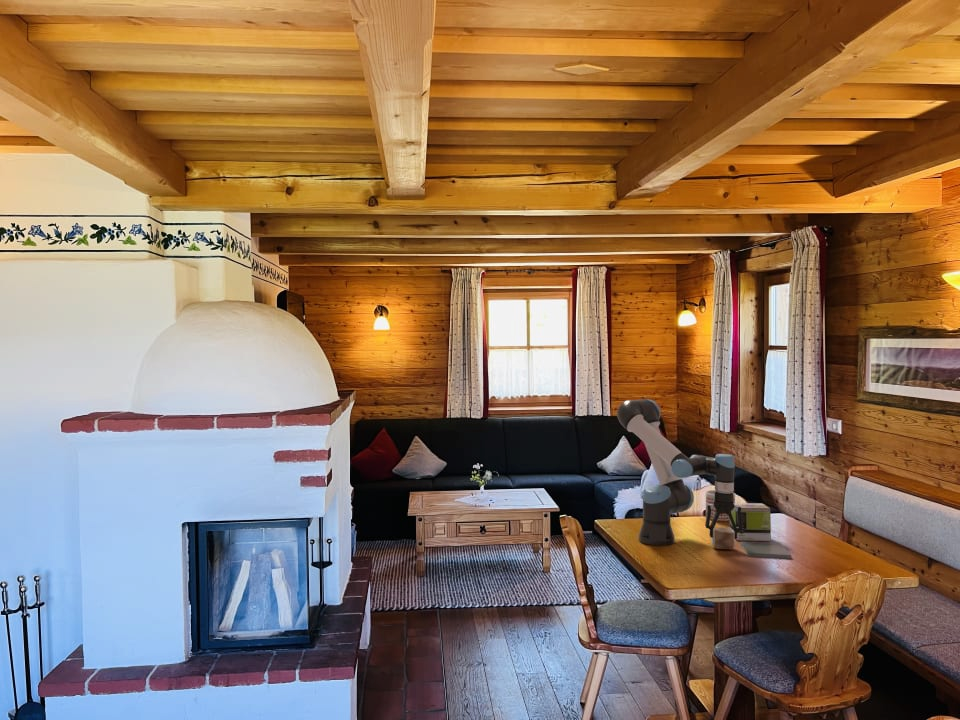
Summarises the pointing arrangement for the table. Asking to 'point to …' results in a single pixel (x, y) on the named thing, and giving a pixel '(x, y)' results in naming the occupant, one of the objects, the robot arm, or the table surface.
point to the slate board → (765, 550)
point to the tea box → (753, 522)
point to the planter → (710, 500)
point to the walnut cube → (724, 538)
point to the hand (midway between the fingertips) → (723, 545)
